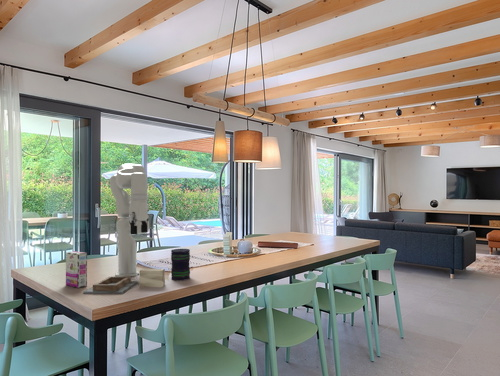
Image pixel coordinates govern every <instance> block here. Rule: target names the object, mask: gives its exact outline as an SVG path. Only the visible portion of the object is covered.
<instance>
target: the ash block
mask: <svg viewBox="0 0 500 376" xmlns="http://www.w3.org/2000/svg"><path fill="white" fill-rule="evenodd" d="M165 273H166V272H165V268H141V269H140V270H139V288H163V287H164V286H165V285H166V278H165V277H166V274H165Z"/></svg>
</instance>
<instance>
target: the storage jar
mask: <svg viewBox="0 0 500 376" xmlns="http://www.w3.org/2000/svg"><path fill="white" fill-rule="evenodd" d="M190 250H191V249H190V248H189V249H188V248H175V249H171V250H170V251H171V253H170V254H171V255H170V257H171V259H170V260H171V269H170V270H171V271H170V274H171V280H172V281H178V282H179V281H187V280H190V278H191V276H190V275H191V268H190V267H191V266H190V260H191V258H190V257H191V255H190V254H191V252H190Z"/></svg>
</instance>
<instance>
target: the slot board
mask: <svg viewBox="0 0 500 376" xmlns="http://www.w3.org/2000/svg"><path fill="white" fill-rule="evenodd" d="M137 284H140V280H132V276H130V277H118V276H111V275H110V276H107V277H105V278H104V279H101V280H100V281H98V282H96V283H94V284H92V287H89V288H87V289H86V290H84V291H83V294H85V295H87V294H88V295H91V294H93V295H96V294H97V295H124V293H126V292H127V291H129V290H130V289H132V288H134V287H135V286H136V285H137Z"/></svg>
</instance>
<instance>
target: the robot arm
mask: <svg viewBox="0 0 500 376" xmlns="http://www.w3.org/2000/svg"><path fill="white" fill-rule="evenodd" d="M147 177H148V176H147V174H146V170H145V167H144V166H143V165H142V164H140V163H139V164H137V163H124V164H123V163H122V164H121V165H120V166H119V167H118V168H117V172H116V174H114V175H112V176H110V179H109V188H110V190H111V193H112V196H113V197H114V201H115V205H116V213H117V217H119V219H118V220H117V222H116V233H117V243H118V244H117V246H118V248H117V251H118V252H117V253H118V254H117V256H118V259H117V260H118V262H117V263H118V266H117V267H118V268H117V269H118V271H116V272H115V277H136V276H138V275H140V270H137V268H138V265H137V242H136V240H135V238H134V237H133V236H134V235H143V234H144V235H145V234H147V233H149V231H150V221H149V218H150V215H149V214H148V212H149V211H148V203H147V201H148V193H147V192H148V179H147ZM124 189H127V190H130V194H129V193H128V192H127V191H125V190H124Z"/></svg>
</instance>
